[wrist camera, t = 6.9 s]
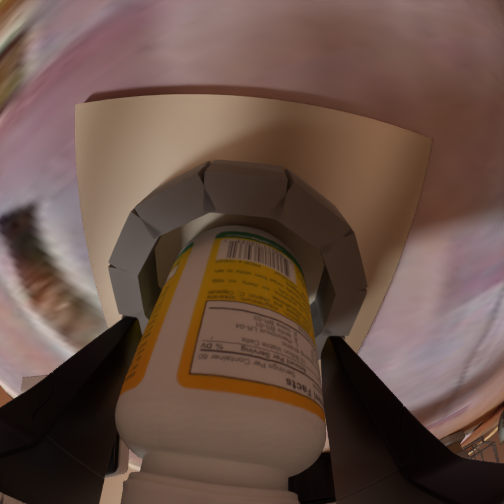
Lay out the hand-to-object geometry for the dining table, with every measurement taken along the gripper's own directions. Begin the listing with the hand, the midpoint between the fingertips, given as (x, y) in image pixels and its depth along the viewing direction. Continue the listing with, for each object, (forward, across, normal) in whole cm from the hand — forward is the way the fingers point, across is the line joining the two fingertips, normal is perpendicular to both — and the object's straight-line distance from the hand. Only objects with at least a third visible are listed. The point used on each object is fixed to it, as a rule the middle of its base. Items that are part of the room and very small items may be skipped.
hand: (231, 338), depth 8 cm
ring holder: (+4, 0, 0) cm, 4 cm away
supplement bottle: (+4, 0, 0) cm, 4 cm away
